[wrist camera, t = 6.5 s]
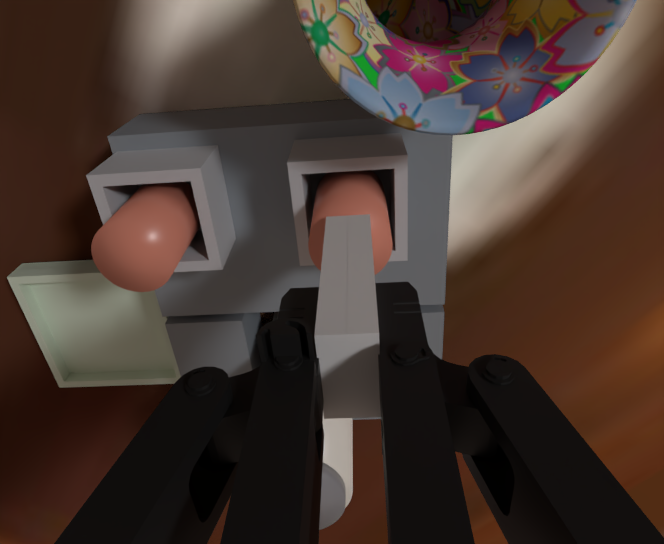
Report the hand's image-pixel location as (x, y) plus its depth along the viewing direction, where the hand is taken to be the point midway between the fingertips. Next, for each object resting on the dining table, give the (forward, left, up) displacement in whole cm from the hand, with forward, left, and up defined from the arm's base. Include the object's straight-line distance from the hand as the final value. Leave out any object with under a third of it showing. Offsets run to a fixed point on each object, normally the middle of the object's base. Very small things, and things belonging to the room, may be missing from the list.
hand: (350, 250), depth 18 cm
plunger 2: (0, 0, -5) cm, 5 cm away
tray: (+9, -16, -10) cm, 21 cm away
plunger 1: (0, -8, -5) cm, 9 cm away
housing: (+6, -3, -10) cm, 12 cm away
